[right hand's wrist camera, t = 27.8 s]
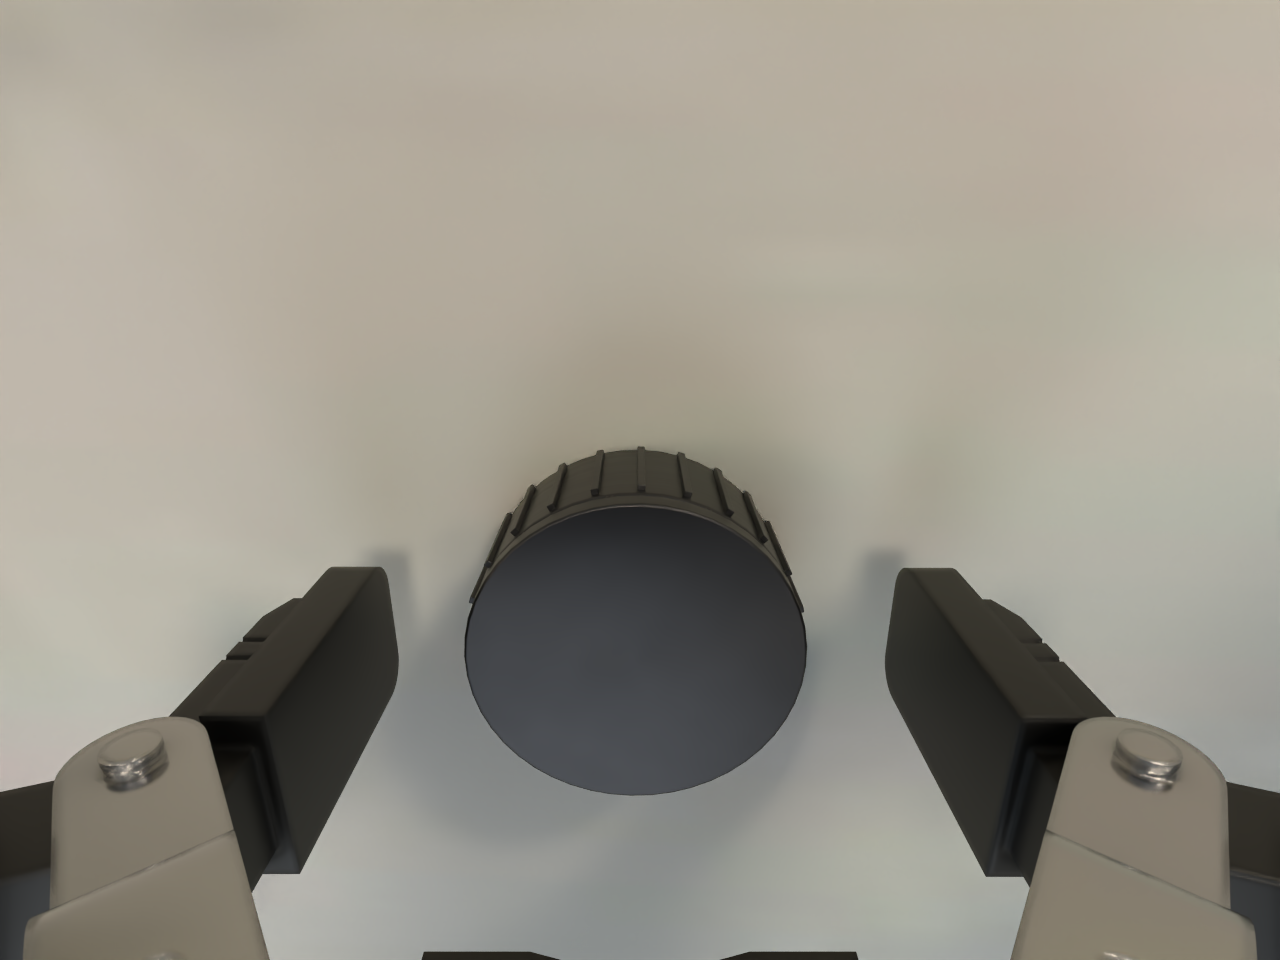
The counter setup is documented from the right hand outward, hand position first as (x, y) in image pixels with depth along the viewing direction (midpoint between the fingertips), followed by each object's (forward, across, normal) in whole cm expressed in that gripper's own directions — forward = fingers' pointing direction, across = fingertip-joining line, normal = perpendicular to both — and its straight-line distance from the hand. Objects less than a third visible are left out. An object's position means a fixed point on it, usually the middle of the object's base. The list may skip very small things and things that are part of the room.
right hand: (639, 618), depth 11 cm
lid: (-1, 0, 0) cm, 1 cm away
